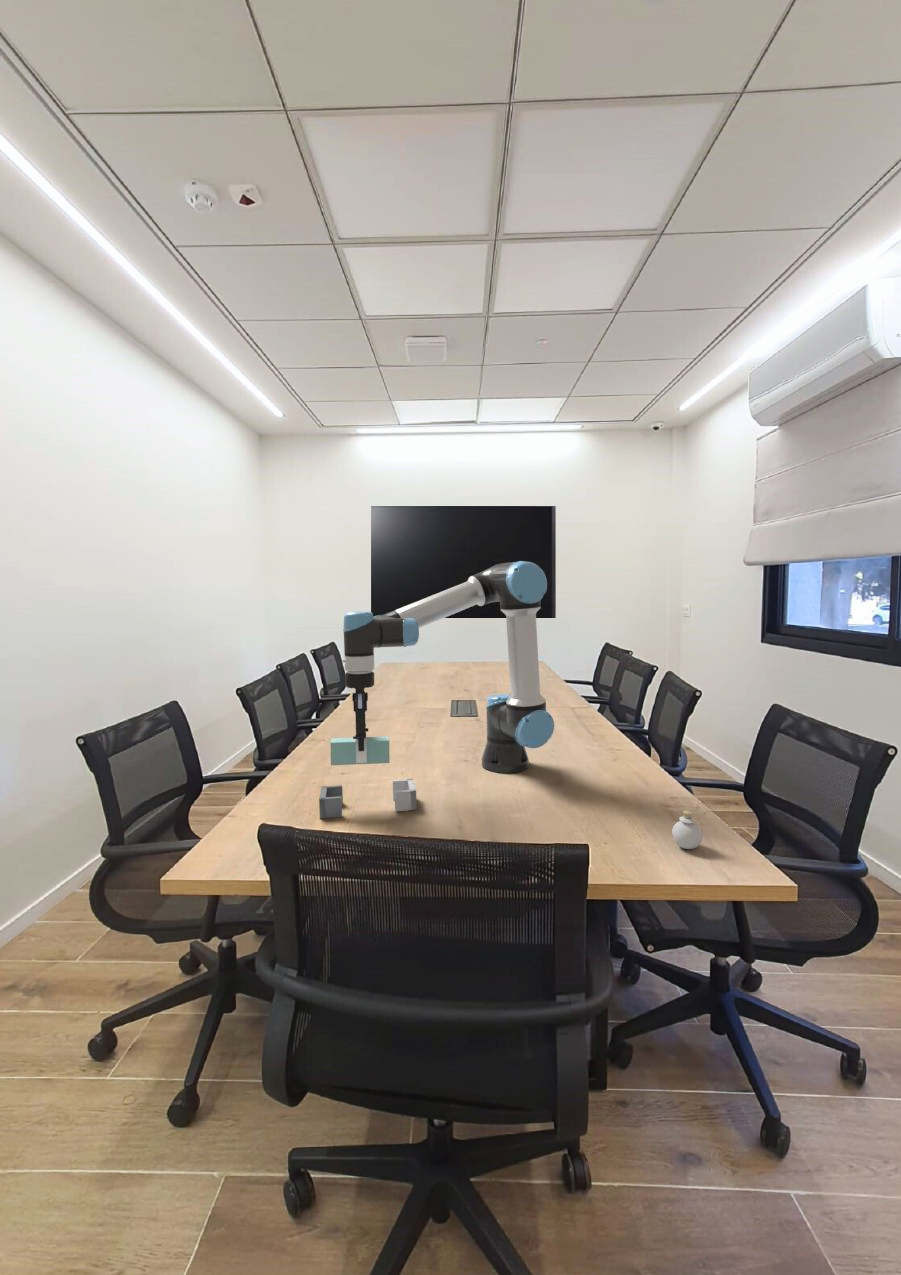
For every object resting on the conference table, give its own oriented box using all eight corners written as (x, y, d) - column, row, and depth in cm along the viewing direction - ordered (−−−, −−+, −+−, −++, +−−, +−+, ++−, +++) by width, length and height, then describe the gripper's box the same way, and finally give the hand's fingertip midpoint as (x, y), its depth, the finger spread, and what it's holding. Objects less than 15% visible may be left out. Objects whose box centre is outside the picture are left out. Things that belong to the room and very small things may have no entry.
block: (388, 758, 145) (388, 736, 144) (389, 763, 141) (389, 740, 141) (331, 760, 143) (331, 738, 142) (330, 765, 139) (330, 742, 138)
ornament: (668, 840, 122) (669, 798, 121) (702, 841, 122) (703, 798, 121) (676, 854, 116) (678, 809, 115) (712, 855, 116) (714, 810, 115)
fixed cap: (342, 802, 146) (342, 784, 145) (342, 816, 137) (341, 797, 137) (322, 804, 145) (321, 786, 144) (319, 818, 136) (319, 799, 136)
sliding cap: (413, 796, 149) (412, 778, 149) (416, 809, 140) (416, 790, 140) (393, 797, 148) (392, 780, 148) (395, 811, 139) (394, 792, 139)
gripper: (345, 667, 147) (348, 750, 150) (343, 677, 131) (345, 771, 133) (373, 666, 149) (375, 749, 151) (374, 676, 132) (376, 769, 134)
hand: (361, 759), depth 142 cm, fingers closed on block, 4 cm apart
